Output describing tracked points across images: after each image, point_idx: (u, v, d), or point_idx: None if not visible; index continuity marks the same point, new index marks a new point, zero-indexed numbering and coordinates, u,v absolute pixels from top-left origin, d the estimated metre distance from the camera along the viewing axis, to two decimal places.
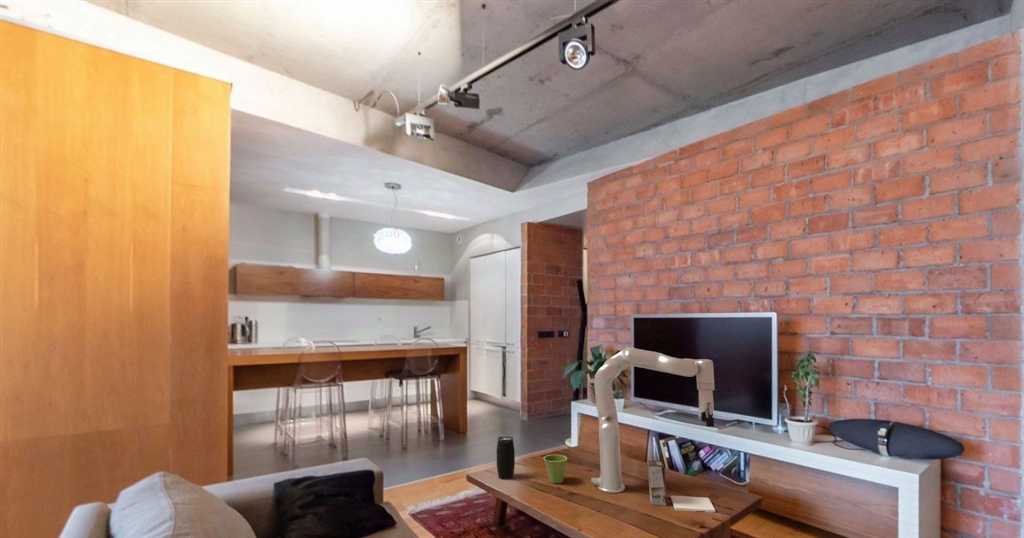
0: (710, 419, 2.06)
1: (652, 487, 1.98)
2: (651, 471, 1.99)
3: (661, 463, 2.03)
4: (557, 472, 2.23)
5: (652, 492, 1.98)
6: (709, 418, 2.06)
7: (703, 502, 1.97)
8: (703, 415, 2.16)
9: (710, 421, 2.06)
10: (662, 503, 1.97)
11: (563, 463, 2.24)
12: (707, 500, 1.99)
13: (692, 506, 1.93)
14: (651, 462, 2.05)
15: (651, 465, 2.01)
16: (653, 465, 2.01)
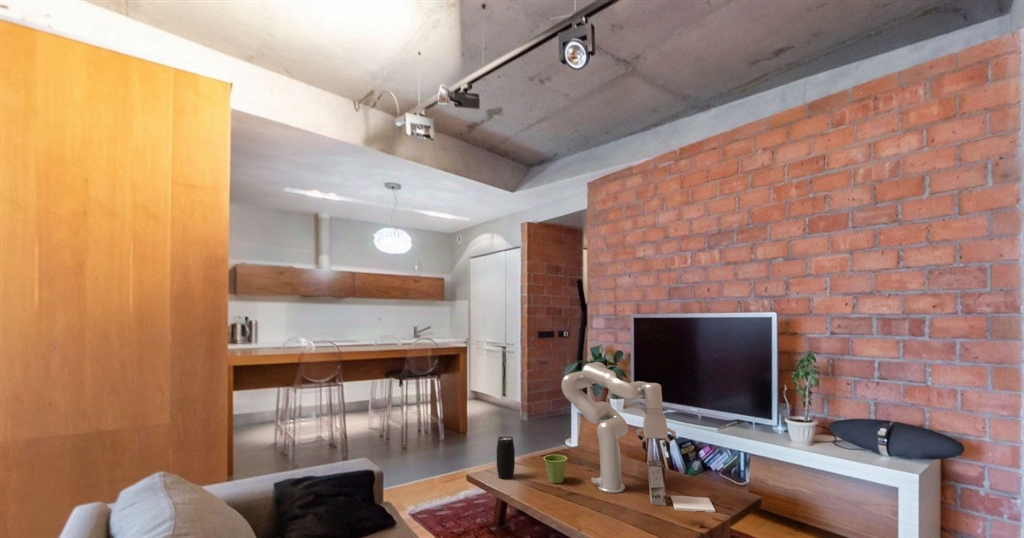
0: (669, 443, 2.02)
1: (652, 487, 1.98)
2: (651, 471, 1.99)
3: (661, 463, 2.03)
4: (557, 472, 2.23)
5: (652, 492, 1.98)
6: (669, 442, 2.02)
7: (703, 502, 1.97)
8: (645, 444, 2.04)
9: (669, 445, 2.02)
10: (662, 503, 1.97)
11: (563, 463, 2.24)
12: (707, 500, 1.99)
13: (692, 506, 1.93)
14: (651, 462, 2.05)
15: (651, 465, 2.01)
16: (653, 465, 2.01)
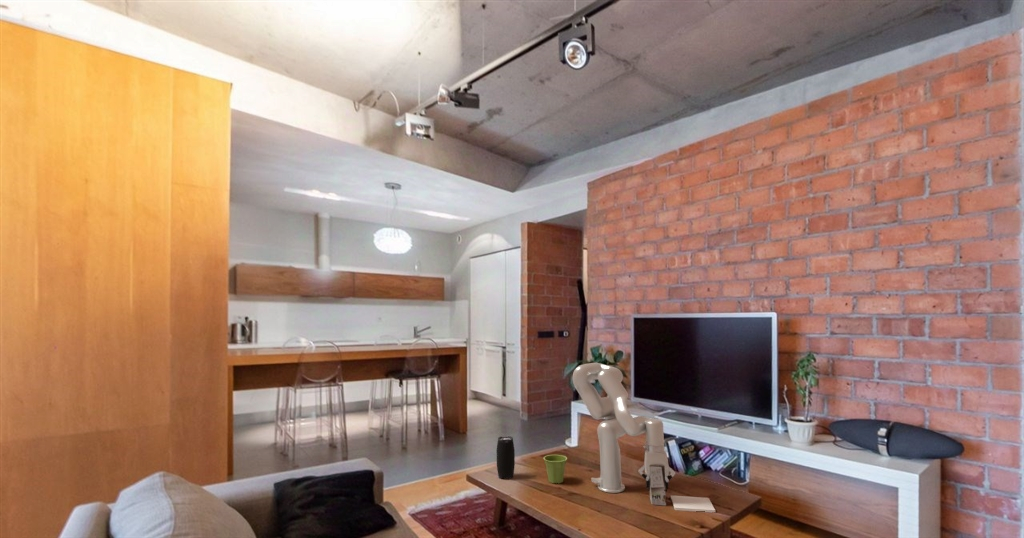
0: (667, 482, 2.01)
1: (652, 487, 1.98)
2: (651, 471, 1.99)
3: None
4: (557, 472, 2.23)
5: (652, 492, 1.98)
6: None
7: (703, 502, 1.97)
8: (649, 483, 2.02)
9: (667, 484, 2.01)
10: (662, 503, 1.97)
11: (563, 463, 2.24)
12: (707, 500, 1.99)
13: (692, 506, 1.93)
14: None
15: (651, 465, 2.01)
16: None
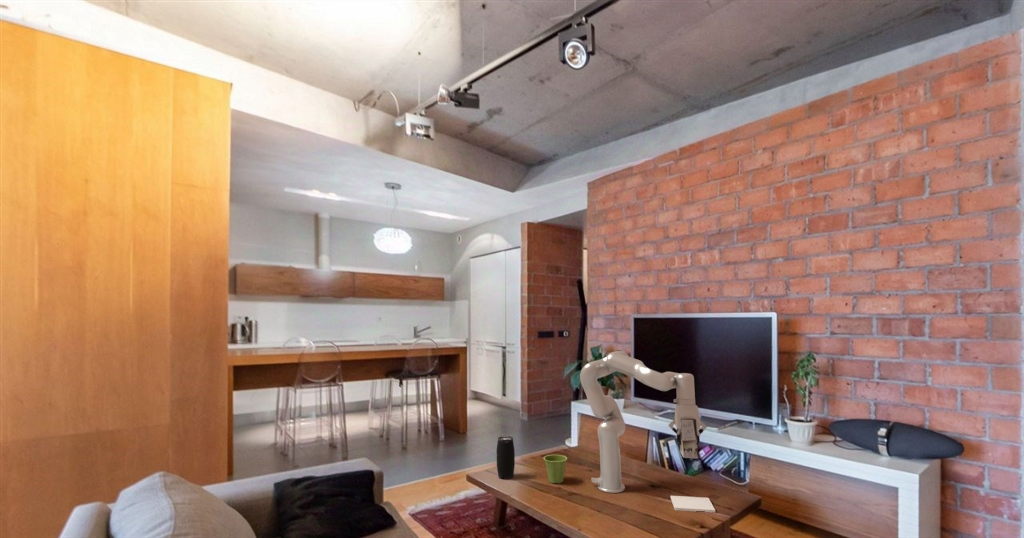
0: None
1: (684, 440, 1.96)
2: (682, 424, 1.96)
3: None
4: (557, 472, 2.23)
5: (684, 445, 1.95)
6: None
7: (703, 502, 1.97)
8: (680, 437, 1.99)
9: None
10: (694, 456, 1.94)
11: (563, 463, 2.24)
12: (707, 500, 1.99)
13: (692, 506, 1.93)
14: None
15: None
16: None
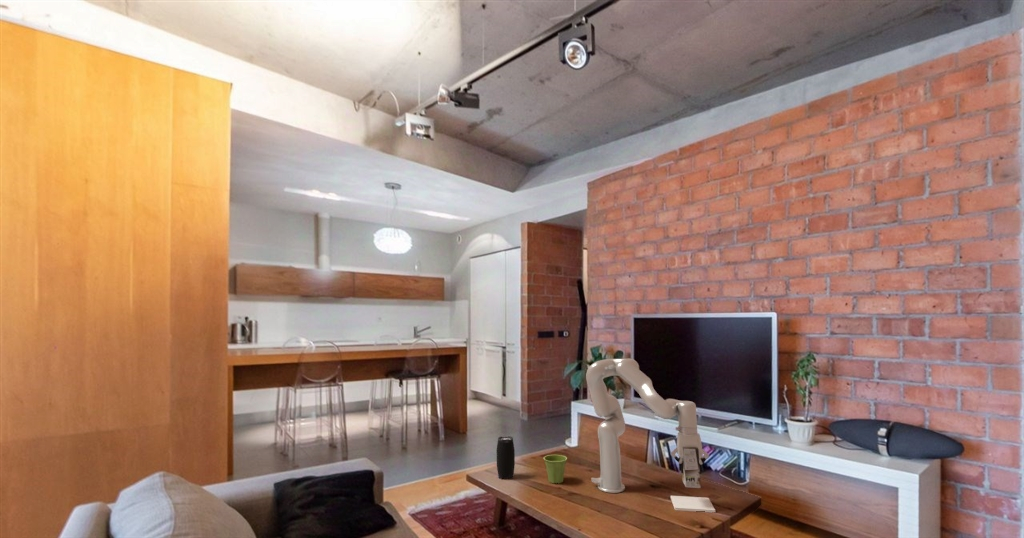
0: None
1: (686, 469, 1.94)
2: (685, 453, 1.95)
3: None
4: (557, 472, 2.23)
5: (686, 475, 1.94)
6: None
7: (703, 502, 1.97)
8: (682, 466, 1.98)
9: None
10: (696, 486, 1.93)
11: (563, 463, 2.24)
12: (707, 500, 1.99)
13: (692, 506, 1.93)
14: None
15: None
16: None
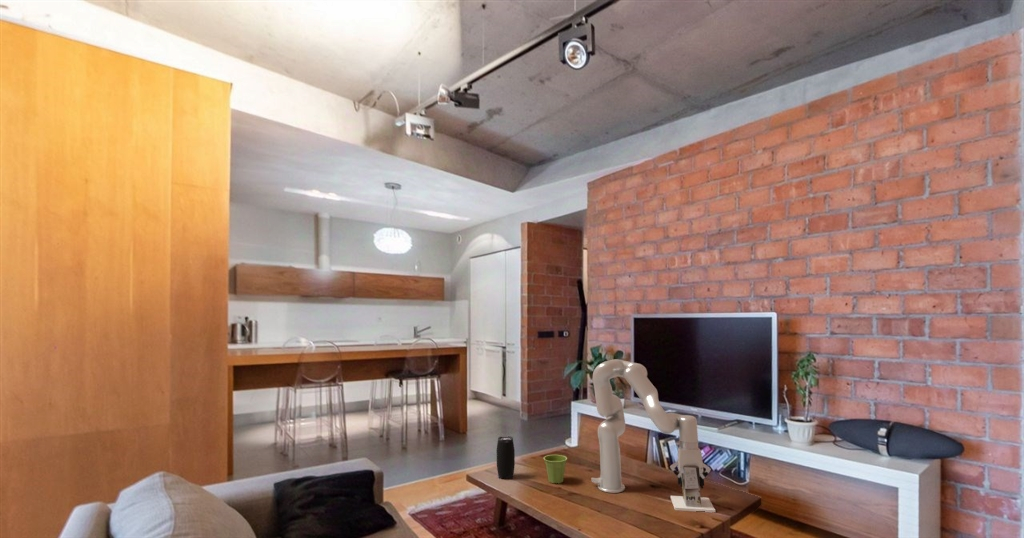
0: None
1: (686, 488, 1.94)
2: (685, 472, 1.94)
3: None
4: (557, 472, 2.23)
5: (686, 493, 1.93)
6: None
7: (703, 502, 1.97)
8: (681, 480, 1.98)
9: None
10: (697, 504, 1.92)
11: (563, 463, 2.24)
12: (707, 500, 1.99)
13: (692, 506, 1.93)
14: None
15: (684, 466, 1.96)
16: (687, 466, 1.96)
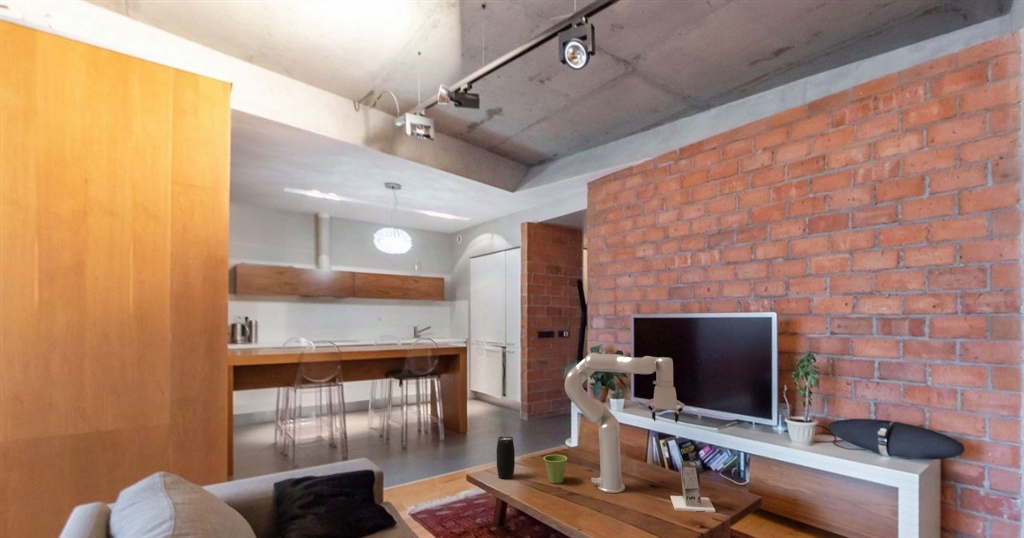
0: None
1: (686, 488, 1.94)
2: (685, 472, 1.94)
3: (695, 464, 1.98)
4: (557, 472, 2.23)
5: (686, 493, 1.93)
6: (678, 414, 2.12)
7: (703, 502, 1.97)
8: None
9: None
10: (697, 504, 1.92)
11: (563, 463, 2.24)
12: (707, 500, 1.99)
13: (692, 506, 1.93)
14: (684, 462, 2.00)
15: (684, 466, 1.96)
16: (687, 466, 1.96)
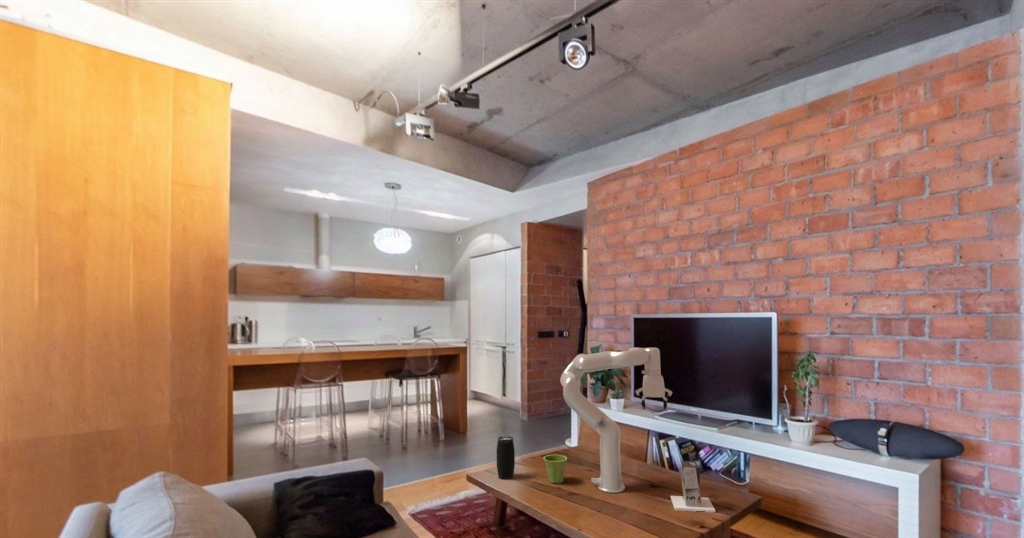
0: (666, 402, 2.21)
1: (686, 488, 1.94)
2: (685, 472, 1.94)
3: (695, 464, 1.98)
4: (557, 472, 2.23)
5: (686, 493, 1.93)
6: (666, 401, 2.21)
7: (703, 502, 1.97)
8: (644, 402, 2.22)
9: (666, 404, 2.21)
10: (697, 504, 1.92)
11: (563, 463, 2.24)
12: (707, 500, 1.99)
13: (692, 506, 1.93)
14: (684, 462, 2.00)
15: (684, 466, 1.96)
16: (687, 466, 1.96)
